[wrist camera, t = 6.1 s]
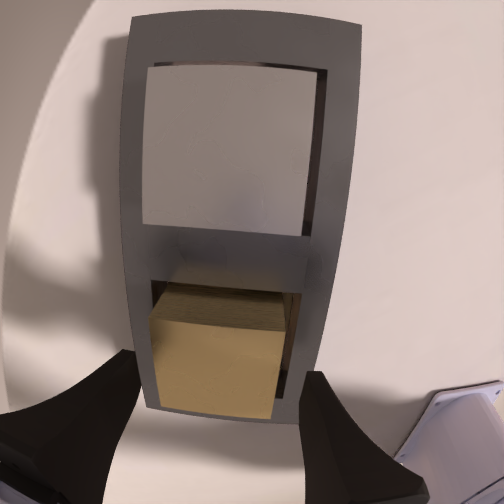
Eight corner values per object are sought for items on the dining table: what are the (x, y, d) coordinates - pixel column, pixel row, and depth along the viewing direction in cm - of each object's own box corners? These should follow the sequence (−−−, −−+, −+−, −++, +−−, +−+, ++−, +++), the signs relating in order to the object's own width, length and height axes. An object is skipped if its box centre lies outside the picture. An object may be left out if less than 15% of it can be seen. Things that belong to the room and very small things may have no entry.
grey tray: (296, 395, 18) (298, 424, 16) (156, 381, 19) (146, 407, 16) (347, 40, 11) (361, 24, 9) (151, 32, 11) (131, 17, 9)
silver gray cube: (289, 202, 14) (300, 236, 10) (181, 194, 14) (142, 224, 10) (299, 94, 12) (317, 72, 8) (187, 88, 13) (147, 67, 8)
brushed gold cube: (280, 273, 16) (285, 332, 11) (270, 352, 17) (270, 419, 13) (180, 264, 16) (147, 317, 11) (183, 343, 17) (160, 406, 13)
